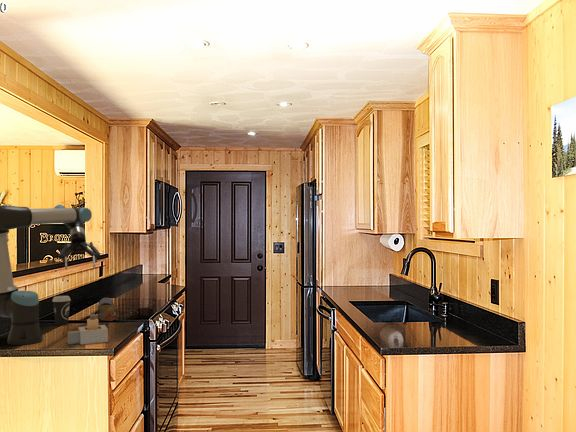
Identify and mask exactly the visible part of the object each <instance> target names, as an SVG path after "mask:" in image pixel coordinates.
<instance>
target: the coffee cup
mask: <svg viewBox="0 0 576 432" xmlns="http://www.w3.org/2000/svg"><path fill="white" fill-rule="evenodd" d="M71 301H72V300H71V297H70V296H69V295H57V296H54V297H53V298H52V300H51V302H52V303H53V304H52V306H53V313H54V314H53V315H54V322H55V323H54V324H55V326H65V325H69V320H70V319H69V317H70V306H71V305H70V304H71Z"/></svg>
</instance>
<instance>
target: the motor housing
mask: <svg viewBox="0 0 576 432" xmlns="http://www.w3.org/2000/svg"><path fill="white" fill-rule="evenodd" d="M77 329H78V330H70V331H67V344H68V345H74V344H75V345H77V344H80V345H81V346H83V345H92V344H93V345H94V344H103V343H109V328H107V326H106V324H98V329H93V330H87V325H86V326H78V328H77Z"/></svg>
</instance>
